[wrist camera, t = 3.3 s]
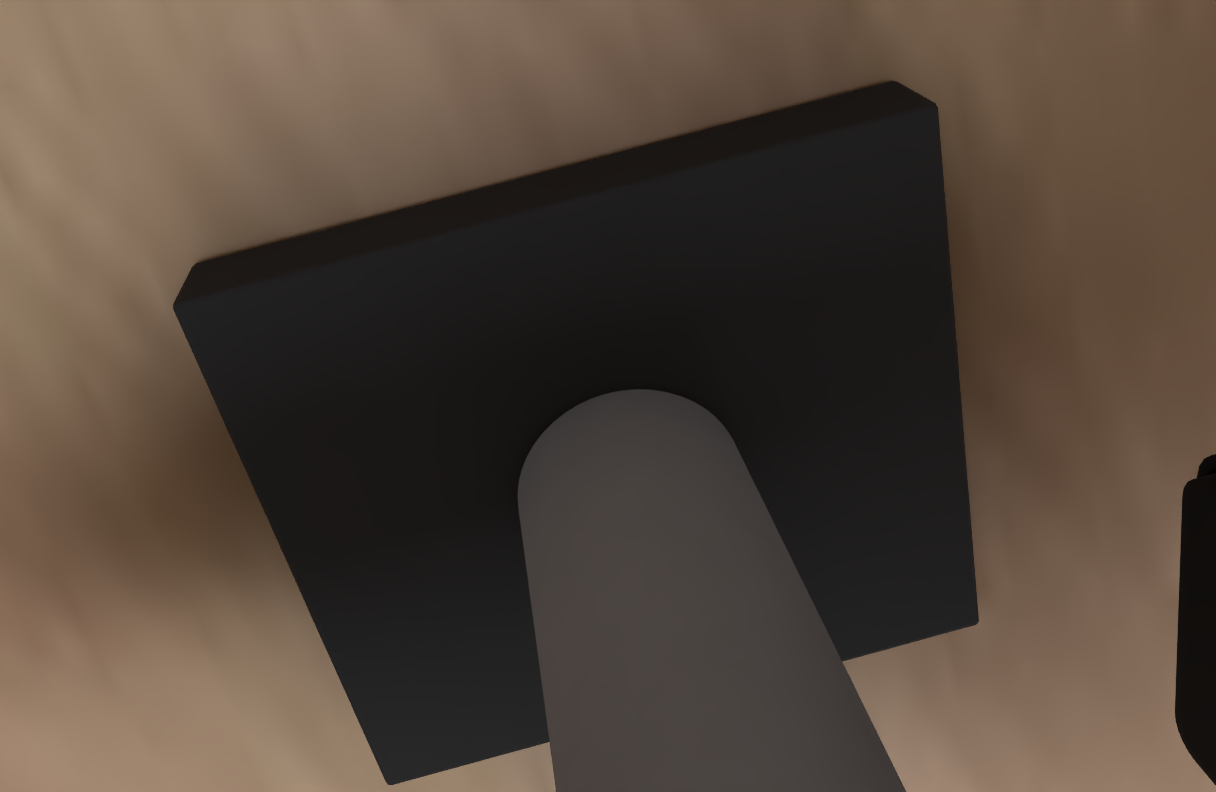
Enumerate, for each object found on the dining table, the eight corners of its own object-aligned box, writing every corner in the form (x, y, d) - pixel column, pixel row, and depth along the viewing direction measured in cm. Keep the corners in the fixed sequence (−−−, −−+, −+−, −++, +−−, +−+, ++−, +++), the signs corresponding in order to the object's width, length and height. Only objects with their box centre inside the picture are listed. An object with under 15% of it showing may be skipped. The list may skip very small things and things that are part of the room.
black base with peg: (895, 78, 12) (1382, 350, 6) (960, 738, 17) (1268, 1270, 11) (190, 262, 12) (-59, 741, 6) (456, 878, 17) (474, 1500, 11)
